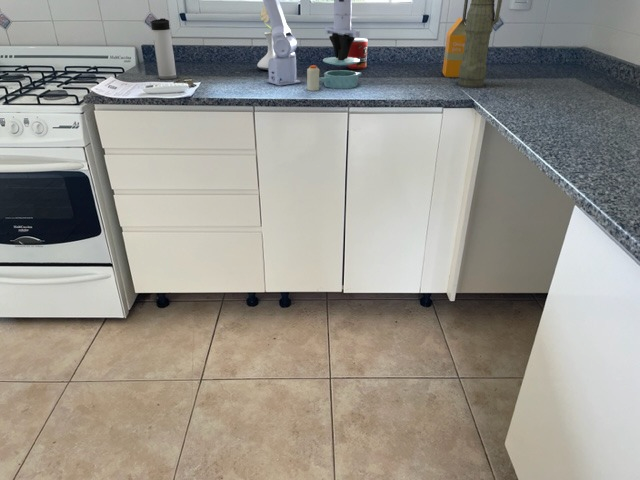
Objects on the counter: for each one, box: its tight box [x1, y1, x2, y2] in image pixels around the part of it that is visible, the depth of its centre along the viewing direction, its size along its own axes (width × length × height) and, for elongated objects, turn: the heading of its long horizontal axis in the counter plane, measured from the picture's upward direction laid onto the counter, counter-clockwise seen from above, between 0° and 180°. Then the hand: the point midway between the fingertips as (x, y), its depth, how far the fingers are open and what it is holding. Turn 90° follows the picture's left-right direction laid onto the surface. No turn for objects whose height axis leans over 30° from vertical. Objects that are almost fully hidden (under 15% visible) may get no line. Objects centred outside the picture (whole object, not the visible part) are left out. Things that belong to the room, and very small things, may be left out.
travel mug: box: [150, 17, 177, 80], centre depth 177 cm, size 6×7×20 cm
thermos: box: [457, 0, 503, 89], centre depth 163 cm, size 9×12×35 cm
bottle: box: [306, 64, 320, 92], centre depth 163 cm, size 4×4×8 cm
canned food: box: [347, 37, 368, 70], centre depth 199 cm, size 8×8×11 cm
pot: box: [319, 69, 363, 90], centre depth 170 cm, size 12×17×4 cm
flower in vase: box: [257, 5, 276, 71], centre depth 190 cm, size 13×11×25 cm
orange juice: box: [442, 17, 466, 78], centre depth 183 cm, size 8×9×20 cm
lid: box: [322, 49, 360, 66], centre depth 167 cm, size 13×13×4 cm
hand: (341, 58), depth 167 cm, fingers closed on lid, 2 cm apart
